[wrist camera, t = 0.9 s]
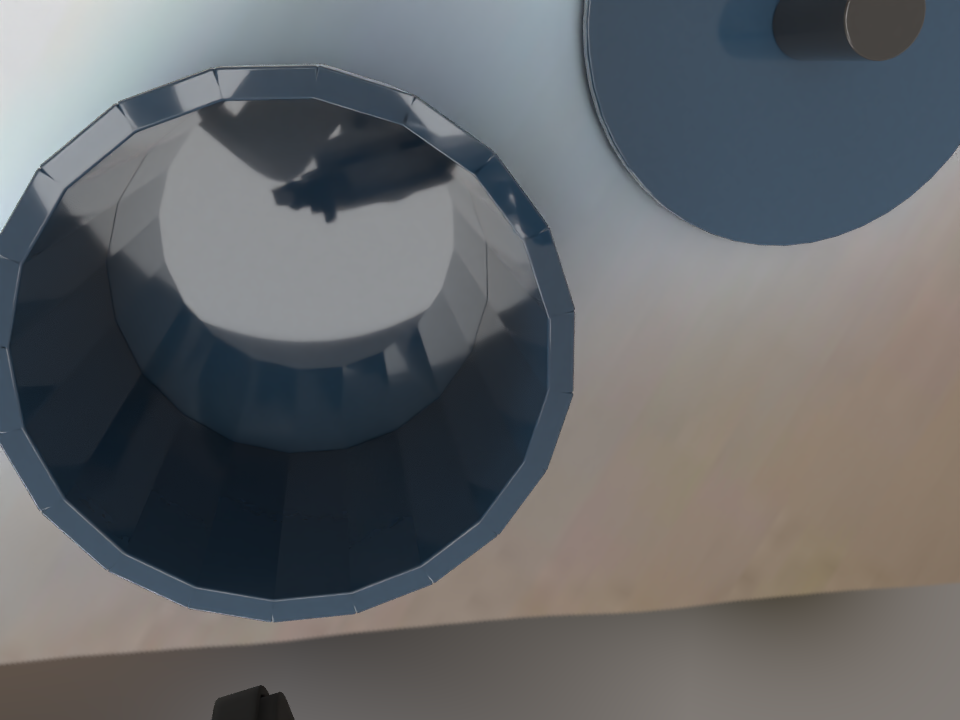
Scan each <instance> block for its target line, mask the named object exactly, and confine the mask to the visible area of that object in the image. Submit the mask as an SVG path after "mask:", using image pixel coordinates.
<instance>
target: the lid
mask: <svg viewBox="0 0 960 720" xmlns="http://www.w3.org/2000/svg"><path fill="white" fill-rule="evenodd" d="M583 42H584V59H585V65H586V71H587V77H588V83H589V88H590V92H591V95H592V98H593V102H594V105H595V109H596V112H597V115H598V118H599V120H600V122H601V125H602V127H603V129H604V131H605V134H606V136H607V138H608V140H609V143H610V144H611V146H612V147H613V149H614V151H615V152H616V154H617V156H618V157H619V159H620V161H621V162H622V164H623V165H624V167H625V168H626V169H627V171H628V172H629V173H630V174H631V175H632V177H633V178H634V179H635V180H636V181H637V183H638V184H639V185H640V186H641V188H643V189H644V190H645V191H646V192H647V193H648V194H649V195H650V196H651V197H652V198H653V199H655V200H656V201H657V202H658V203H659V204H660V205H661V206H663V207H664V208H665V209H667V210H668V211H670V212H671V213H673V214H674V215H676V216H677V217H679V218H680V219H682V220H683V221H685V222H687V223H690V224H692V225H694V226H696V227H698V228H700V229H702V230H704V231H706V232H708V233H711V234H714V235H717V236H720V237H723V238H726V239H730V240H733V241H737V242H743V243H749V244H756V245H774V246H788V245H796V244H805V243H812V242H816V241H820V240H824V239H828V238H832V237H836V236H839V235H842V234H844V233H847V232H849V231H852V230H854V229H857V228H859V227H862V226H864V225H866V224H868V223H870V222H871V221H873V220H875V219H877V218H879V217H881V216H883V215H884V214H886V213H888V212H889V211H891V210H892V209H894V208H895V207H896V206H898V205H899V204H901V203H902V202H904V201H905V200H906V199H908V198H909V197H911V196H912V195H913V194H914V193H915V192H916V191H917V190H918V189H920V188H921V187H922V186H923V185H924V184H925V183H926V182H928V181H929V180H930V179H931V178H932V177H933V176H934V175H935V174H936V172H937V171H938V170H939V169H940V168H941V167H942V166H943V165H944V164H945V163H946V161H947V160H948V159H949V158H950V157H951V156H952V155H953V153H954V152H955V150H956V149H957V148H958V146H959V145H960V0H585V2H584V15H583Z"/></svg>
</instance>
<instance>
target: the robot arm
mask: <svg viewBox="0 0 960 720" xmlns="http://www.w3.org/2000/svg"><path fill="white" fill-rule="evenodd" d="M212 720H294V717H293V715H292V712H291V710H290V707H289V705H288V702H287V700H286V698H285V696H284V694H283V693H282V692H278V693H275V694H272V695H269V693H268V691H267V690H266V688H265V687H264V686H262V685H260V686H257V687H253V688H250V689H247V690H244V691H240V692H237V693H234V694H231V695H227V696H224V697H221V698H218V699H217V700H216V702H215V705H214V710H213V715H212Z"/></svg>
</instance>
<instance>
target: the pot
mask: <svg viewBox="0 0 960 720" xmlns="http://www.w3.org/2000/svg"><path fill="white" fill-rule="evenodd" d="M574 310H575V307H574V304H573V301H572V298H571V294H570V291H569V288H568V285H567V282H566V279H565V275H564V272H563V269H562V266H561V263H560V259H559V256H558V253H557V250H556V247H555V244H554V240H553V237H552V234H551V231H550V228H549V227H548V224H547V223H546V222H545V220H544V219H543V218H542V216H541V215H540V213H539V212H538V211H537V209H536V208H535V207H534V205H533V204H532V202H531V201H530V200H529V198H528V197H527V196H526V194H525V193H524V191H523V190H522V189H521V187H520V186H519V185H518V183H517V182H516V180H515V179H514V178H513V176H512V175H511V174H510V172H509V171H508V169H507V168H506V167H505V165H504V164H503V163H502V161H501V160H500V158H499V157H498V156H497V154H495V153H494V151H493V150H491V149H490V148H488V147H487V146H486V145H484V144H483V143H481V142H480V141H479V140H477V139H476V138H474V137H473V136H472V135H470V134H469V133H467V132H466V131H465V130H463V129H462V128H460V127H459V126H458V125H456V124H455V123H453V122H452V121H451V120H449V119H448V118H446V117H445V116H444V115H442V114H441V113H439V112H438V111H437V110H435V109H434V108H433V107H431V106H430V105H428V104H427V103H426V102H424V101H423V100H421V99H420V98H419V97H417V96H415V95H413V94H411V93H408V92H406V91H403V90H401V89H399V88H396V87H394V86H392V85H389V84H386V83H383V82H380V81H377V80H373V79H370V78H367V77H364V76H361V75H357V74H354V73H351V72H348V71H345V70H341V69H338V68H335V67H332V66H329V65H325V64H274V65H241V66H221V67H216V68H209V69H206V70H204V71H201V72H198V73H195V74H193V75H190V76H187V77H184V78H182V79H179V80H176V81H173V82H171V83H168V84H165V85H162V86H159V87H157V88H154V89H151V90H148V91H146V92H143V93H140V94H137V95H135V96H132V97H129V98H126V99H123V100H121V101H119V102H118V103H116V104H113V105H112V106H111V107H110V108H109V109H107V110H106V111H105V112H104V113H103V114H101V115H100V116H99V117H98V118H97V119H95V120H94V121H93V122H92V123H91V124H89V125H88V126H87V127H86V128H84V129H83V130H82V131H81V132H80V133H78V134H77V135H76V136H75V137H74V138H72V139H71V140H70V141H69V142H68V143H66V144H65V145H64V146H63V147H62V148H60V149H59V150H58V151H57V152H55V153H54V154H53V155H52V156H51V157H49V158H48V159H47V160H46V161H45V162H43V163H42V164H41V165H40V168H38V169H37V170H36V172H35V174H34V175H33V177H32V179H31V181H30V182H29V184H28V186H27V188H26V189H25V191H24V193H23V195H22V196H21V198H20V200H19V202H18V203H17V205H16V207H15V209H14V210H13V212H12V214H11V216H10V217H9V219H8V221H7V223H6V224H5V226H4V228H3V230H2V231H1V233H0V445H1V447H2V449H3V450H4V452H5V454H6V455H7V457H8V459H9V461H10V462H11V464H12V466H13V467H14V469H15V471H16V472H17V474H18V476H19V477H20V479H21V481H22V482H23V484H24V486H25V487H26V489H27V491H28V492H29V494H30V496H31V498H32V499H33V501H34V503H35V504H36V506H37V508H38V509H39V510H40V511H42V514H43V515H44V516H45V517H46V518H47V519H49V520H50V521H51V522H52V523H53V524H54V525H55V526H56V527H58V528H59V529H60V530H61V531H62V532H63V533H64V534H66V535H67V536H68V537H69V538H70V539H71V540H72V541H73V542H75V543H76V544H77V545H78V546H79V547H80V548H81V549H83V550H84V551H85V552H86V553H87V554H88V555H89V556H90V557H92V558H93V559H94V560H95V561H96V562H97V563H98V564H99V565H101V566H102V567H103V568H104V569H105V570H108V571H109V572H110V573H112V574H114V575H116V576H119V577H121V578H123V579H125V580H127V581H129V582H131V583H134V584H136V585H138V586H140V587H142V588H144V589H146V590H149V591H151V592H153V593H155V594H157V595H159V596H161V597H164V598H166V599H168V600H170V601H172V602H174V603H176V604H179V605H181V606H183V607H188V609H193V610H199V611H205V612H211V613H217V614H223V615H229V616H235V617H241V618H247V619H253V620H260V621H266V622H272V621H273V622H283V621H293V620H302V619H312V618H322V617H332V616H341V615H351V614H355V613H356V612H357V613H360V612H362V611H365V610H367V609H370V608H372V607H375V606H378V605H380V604H383V603H385V602H388V601H391V600H393V599H396V598H398V597H401V596H404V595H406V594H409V593H411V592H414V591H416V590H419V589H422V588H424V587H427V586H429V585H432V583H435V582H437V581H438V580H439V579H441V578H442V577H443V576H445V575H446V574H447V573H449V572H450V571H451V570H453V569H454V568H455V567H457V566H458V565H459V564H461V563H462V562H463V561H465V560H466V559H467V558H469V557H470V556H471V555H473V554H474V553H475V552H477V551H478V550H479V549H481V548H482V547H483V546H485V545H486V544H487V543H489V542H490V541H491V540H493V539H494V538H495V537H497V535H498V534H500V533H501V532H502V530H503V529H504V528H505V526H506V525H507V523H508V522H509V521H510V519H511V518H512V517H513V515H514V514H515V513H516V511H517V510H518V509H519V507H520V506H521V505H522V503H523V502H524V501H525V499H526V498H527V497H528V495H529V494H530V493H531V491H532V490H533V488H534V487H535V486H536V484H537V483H538V482H539V480H540V479H541V478H542V476H543V475H544V474H545V472H546V470H547V469H548V466H549V463H550V460H551V457H552V455H553V452H554V449H555V446H556V443H557V440H558V437H559V434H560V432H561V429H562V426H563V423H564V420H565V417H566V414H567V411H568V409H569V406H570V403H571V400H572V397H573V393H572V392H573V388H574V334H575V312H574Z"/></svg>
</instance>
